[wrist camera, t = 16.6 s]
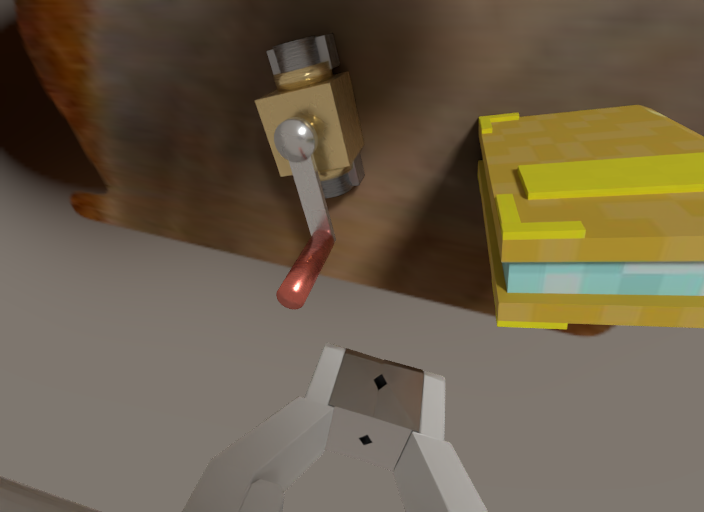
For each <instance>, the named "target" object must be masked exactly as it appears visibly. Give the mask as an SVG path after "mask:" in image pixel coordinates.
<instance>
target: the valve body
mask: <svg viewBox="0 0 704 512" xmlns="http://www.w3.org/2000/svg"><path fill="white" fill-rule="evenodd" d="M266 52H267V55H268V58H269V61H270V65H271V68H272V71H273V74H274V75H273V77H274V81H275V84H276V87H277V90H275V91H273V92H271V93H269V94H267V95H265V96H263V97H261V98H259V99H256V100H255V103H256V106H257V109H258V112H259V115H260V118H261V121H262V123H263V126H264V129H265V132H266V135H267V138H268V141H269V144H270V147H271V150H272V153H273V155H274V158H275V161H276V164H277V167H278V170H279V173H280V176H281V177H283V176H289V175H293V174H292V170H291V167H290V164H289V161H288V160H287V159H285V158H284V157H283V156H281V154H280V153H279V152H278V150H277V149H276V146H275V143H274V133H275V130H276V128H277V127H278V125H279V124H280V123H282V122H283V121H285V120H286V119H288V118H291V117H300V118H303V119H305V120H307V121H308V122H309V123H310V124H311V125H312V126H313V127H314V129H315V131H316V133H317V137H318V144H317V148H316V150H315V152H314V153H313V155H314V159H315V162H316V166H317V170H318V174H319V178H320V181H321V185H322V189H323V193H324V196H325V198H331V197H336V196H339V195H342V194H344V193H346V192H348V191H349V190H350V189H351V188H352V186H357V185H360V183H361V181H362V179H363V177H364V175H365V174H364V170H363V165H362V161H361V156H360V150H361V149H362V147H363V145H364V140H363V135H362V130H361V126H360V121H359V116H358V112H357V107H356V102H355V98H354V93H353V88H352V84H351V79H350V74H349V71H347V72H343V73H339V74H335V75H333V73H332V69H333V68H335V67H337V66H339V65H340V62H339V57H338V53H337V48H336V44H335V39H334V35H333V33H332V34H327V35H323V36H319V37H316V36H315V35H314V36H310V37H306V38H302V39H298V40H295V41H291V42H287V43H284V44H280V45H277V46H274V47H273V50H269V51H266Z"/></svg>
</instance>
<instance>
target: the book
mask: <svg viewBox="0 0 704 512" xmlns="http://www.w3.org/2000/svg"><path fill="white" fill-rule="evenodd" d="M479 140H480V146H481V151H482V157H483V160H478V180H479V187H480V193H481V200H482V207H483V215H484V222H485V230H486V237H487V245H488V252H489V260H490V267H491V275H492V286H493V293H494V301H495V309H496V321H497V326H498V327H522V328H547V329H567V324H568V323H575V324H603V325H633V326H659V327H688V328H704V137H703V136H701V135H699V134H697V133H696V132H694V131H692V130H690V129H688V128H686V127H684V126H682V125H680V124H679V123H677V122H675V121H673V120H671V119H669V118H667V117H665V116H664V115H662V114H660V113H658V112H656V111H654V110H652V109H650V108H647V107H644V106H641V105H631V106H621V107H612V108H602V109H593V110H583V111H574V112H564V113H554V114H545V115H535V116H526V117H519V114H518V113H509V114H500V115H491V116H482V117H479Z"/></svg>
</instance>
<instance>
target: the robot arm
mask: <svg viewBox="0 0 704 512" xmlns="http://www.w3.org/2000/svg"><path fill="white" fill-rule="evenodd" d="M444 423H445V378H444V376H440V375H437V374H433V373H430V372H427V371H423V370H421V369H417V368H414V367H410V366H406V365H403V364H399V363H395V362H392V361H388V360H382V359H379V358H375V357H372V356H369V355H366V354H363V353H360V352H357V351H353V350H350V349H347V348H344V347H340V346H337V345H334V344H330V343H326V345H325V346H324V348H323V351H322V353H321V356H320V359H319V361H318V364H317V366H316V369H315V371H314V374H313V377H312V379H311V382H310V385H309V387H308V390H307V392H306V395H305V397H304V398H303V397H297V398H295V399H294V400H293V401H291V402H290V403H288V404H287V405H286V406H284V407H283V408H282V409H280V410H279V411H277V412H276V413H275V414H273V415H272V416H270V417H269V418H268V419H266V420H265V421H264V422H262V423H261V424H259V425H258V426H256V427H255V428H254V429H252V430H251V431H250V432H248V433H247V434H246V435H244V436H243V437H241V438H240V439H238V440H237V441H236V442H234V443H233V444H231V445H230V446H229V447H227V448H226V449H225V450H223V451H222V452H220V453H219V454H218V455H216V456H215V457H214V458H212V459H211V460H210V461H209V463H208V465H207V467H206V469H205V471H204V472H203V474H202V476H201V478H200V480H199V482H198V484H197V485H196V487H195V489H194V491H193V493H192V494H191V496H190V498H189V500H188V502H187V504H186V506H185V507H184V509H183V511H182V512H283V503H284V495H285V494H284V492H285V491H286V490H287V489H288V488H289V487H290V486H291V485H292V484H293V483H294V482H295V481H296V480H297V479H298V478H299V477H300V476H301V475H302V474H303V473H304V472H305V471H306V470H307V469H308V468H309V467H310V466H311V465H312V464H313V463H314V462H315V461H316V460H317V459H318V458H319V457H320V456H321V455H322V454H323V453H324V451H325V450H327V451H331V452H334V453H338V454H341V455H345V456H348V457H352V458H355V459H359V460H361V461H364V462H367V463H370V464H373V465H376V466H379V467H382V468H385V469H387V470H390V471H393V475H394V479H395V482H396V485H397V488H398V491H399V494H400V497H401V500H402V503H403V506H404V509H405V512H488V511H487V509H486V507H485V506H484V504H483V502H482V500H481V498H480V496H479V495H478V493H477V491H476V489H475V487H474V485H473V483H472V482H471V480H470V478H469V476H468V474H467V472H466V470H465V469H464V467H463V465H462V463H461V461H460V459H459V458H458V456H457V454H456V452H455V450H454V448H453V446H452V445H451V443H449V442H446V441H444V426H445V424H444ZM0 512H101V511H98V510H95V509H92V508H89V507H87V506H83V505H81V504H78V503H76V502H72V501H70V500H67V499H64V498H61V497H59V496H56V495H53V494H50V493H47V492H45V491H42V490H39V489H36V488H33V487H31V486H28V485H25V484H22V483H19V482H16V481H14V480H11V479H8V478H5V477H2V476H0Z"/></svg>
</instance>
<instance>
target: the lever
mask: <svg viewBox="0 0 704 512" xmlns="http://www.w3.org/2000/svg"><path fill="white" fill-rule="evenodd" d="M274 143H275V146H276V149H277V150H278V152H279V153H280V154H281V156H283V157H284V158H285V159H287V160H288V161H289V164H290V167H291V170H292V174H293V177H294V180H295V184H296V187H297V190H298V194H299V197H300V200H301V203H302V207H303V210H304V213H305V217H306V220H307V223H308V227H309V230H310V233H311V238H310V239H309V241H308V243H307V244H306V246H305V247H304V249H303V251H302V252H301V254H300V255H299V257H298V259H297V260H296V262H295V264H294V265H293V267H292V268H291V270H290V272H289V273H288V275H287V276H286V278H285V280H284V281H283V283H282V284H281V286H280V288H279V289H278V291H277V299H278V301H279V302H280V303H281V304H282V305H283V306H285V307H287V308H289V309H299V308H301V307H302V306H303V305H304V302H305V301H306V299H307V297H308V295H309V293H310V291H311V289H312V287H313V285H314V283H315V281H316V279H317V277H318V275H319V273H320V271H321V269H322V267H323V265H324V263H325V261H326V259H327V257H328V255H329V253H330V251H331V249H332V248H333V245H334V243H335V241H336V238H335V234H334V230H333V227H332V223H331V219H330V215H329V211H328V208H327V204H326V200H325V196H324V193H323V189H322V185H321V181H320V178H319V174H318V170H317V166H316V162H315V159H314V155H313V153H314V152H315V150H316V148H317V144H318V137H317V133H316V131H315V129H314V127H313V126H312V125H311V124H310V123H309V122H308V121H307V120H305V119H303V118H300V117H291V118H288V119H286V120H285V121H283V122H282V123H280V124H279V125H278V127H277V128H276V130H275V133H274Z"/></svg>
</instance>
